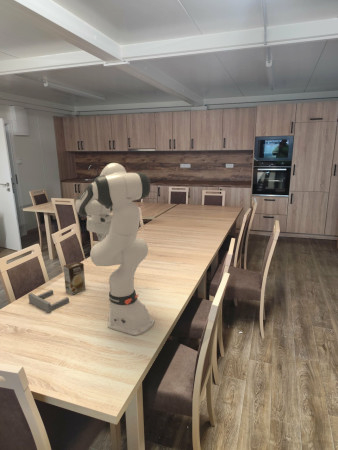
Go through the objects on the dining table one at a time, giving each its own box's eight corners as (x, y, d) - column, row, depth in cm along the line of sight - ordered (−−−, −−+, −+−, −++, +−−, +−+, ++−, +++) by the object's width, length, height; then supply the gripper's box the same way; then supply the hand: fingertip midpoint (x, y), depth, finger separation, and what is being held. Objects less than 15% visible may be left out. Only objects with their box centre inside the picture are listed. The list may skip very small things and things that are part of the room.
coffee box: (71, 295, 162) (69, 268, 157) (65, 292, 165) (62, 265, 161) (86, 289, 168) (83, 263, 164) (79, 286, 172) (77, 260, 168)
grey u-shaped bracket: (70, 302, 154) (69, 294, 153) (48, 313, 144) (47, 304, 143) (50, 293, 164) (49, 285, 163) (29, 302, 155) (28, 293, 153)
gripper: (82, 215, 161) (84, 239, 165) (108, 220, 149) (109, 245, 153) (91, 213, 166) (93, 236, 170) (117, 217, 154) (118, 242, 158)
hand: (101, 241), depth 161 cm, fingers closed
